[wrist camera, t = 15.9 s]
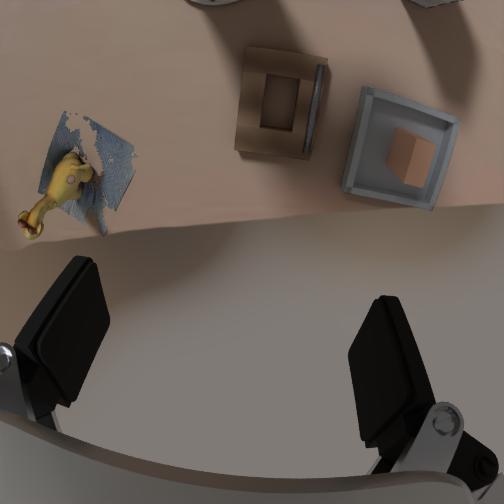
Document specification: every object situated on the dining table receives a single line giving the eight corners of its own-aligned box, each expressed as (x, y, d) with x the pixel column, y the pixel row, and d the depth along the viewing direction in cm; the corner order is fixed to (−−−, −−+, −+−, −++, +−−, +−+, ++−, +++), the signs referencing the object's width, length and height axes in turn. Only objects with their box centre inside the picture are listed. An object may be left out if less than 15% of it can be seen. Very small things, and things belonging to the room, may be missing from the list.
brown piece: (247, 47, 33) (245, 45, 30) (325, 59, 33) (328, 58, 31) (235, 146, 40) (233, 151, 38) (308, 156, 41) (310, 161, 39)
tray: (362, 85, 34) (367, 87, 32) (452, 116, 35) (460, 119, 32) (340, 185, 43) (344, 192, 41) (425, 203, 43) (432, 211, 41)
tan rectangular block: (395, 126, 36) (416, 138, 31) (413, 131, 36) (436, 144, 31) (385, 165, 40) (403, 183, 34) (403, 169, 40) (422, 188, 34)
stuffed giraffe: (38, 192, 45) (-14, 237, 32) (68, 103, 37) (3, 129, 24) (105, 234, 51) (65, 293, 37) (147, 150, 42) (103, 192, 29)
